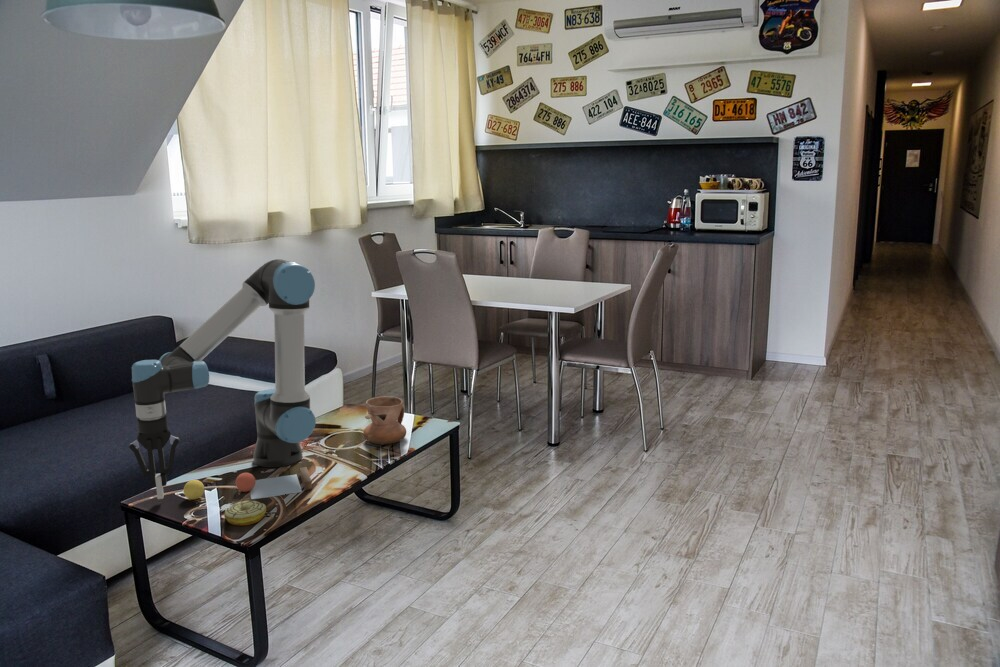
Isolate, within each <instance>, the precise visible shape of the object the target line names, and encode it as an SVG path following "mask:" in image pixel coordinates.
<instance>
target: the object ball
mask: <svg viewBox="0 0 1000 667" xmlns="http://www.w3.org/2000/svg"><path fill="white" fill-rule="evenodd" d="M255 480H256V477H255V476H254V474H252V473H251V472H242V473H240V474H238V475H237V477H236V479H235V486H236V489H237V490H239V492H240V491H241V492H243V493H247V492H250V490H252V489H253V488H254V486H255Z"/></svg>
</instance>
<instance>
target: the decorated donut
mask: <svg viewBox="0 0 1000 667" xmlns="http://www.w3.org/2000/svg"><path fill="white" fill-rule="evenodd" d="M266 512H267V506H266V504H264V503H263V502H261V501H257V500H244V501H243V500H242V501H237V502H235V503H233V504H232V505H231V504H230V506H229V507H227V508H226V509H225V511H224V517H225V519H226V521H227V523H229V524H230V525H233V526H239V527H242V526H243V527H244V526H249V525H252V524H253V525H254V524H256V523H258V522H260V521H261V520H262V519H263V518H264V517H265V515H266Z"/></svg>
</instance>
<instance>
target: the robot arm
mask: <svg viewBox="0 0 1000 667" xmlns="http://www.w3.org/2000/svg"><path fill="white" fill-rule="evenodd" d="M315 288H316V282H315V278H314V276H313V273H312V272H311V271H310V270H309V269H308V268H307V267H305V265H302V264H300V263H298V262H294V261H290V260H284V259H279V258H277V259H273V260H269V261H267V262H265V263H263V264H262V266H261V265H260V267H259V268H258V269H257V270H255V271H254V272H253V273H252V274H251V275H250V276H249V277H247V279H245V281H243V282H242V287H241V289H240V290H238V292H237V293H235V294H234V295H233V296H232V297H231V298H230V299H229V300H227V301H226V302H225V304H223V305H222V306H221V307H220V308H218V309H217V311H216V312H215V313H214V314H212V315H211V316H210V317H209V318H208V319H207V320H206V321H205V322H203V324H201V325H200V326H199V327H198V328H197V329H196V330H194V332H193V333H192V334H190V335H189V336H188V337H187V338H186V339H185V340H184V341H183V342H182V343H181V344H180V345H178V346H176V348H175V349H174V350H172V351H169V352H166V353H164V354H163V355H161V356H160V358H159V359H144V360H139V361H136V362H134V363H133V364H132V365H131V382H132V388H133V389H132V390H133V396H134V405H135V415H136V418H137V420H136V424H137V432H138V433H137V437H136V439H135V440H134V441H131V442H130V443H129V447H128V448H129V449H130V451H132V452H133V453H134V456H135V458H136V461H137V463H138V465H139V469H140V470H141V473H142V476H144V477H146V476H147V477H150V482H151V483H150V484H151V488H156V497H157V500H163V499H164V497H165V496H164V495H165V494H164V487H166V486H167V482H168V481H167V474H169V473H172V472H173V467H174V466H173V465H174V461H175V455H176V449H177V446H178V444H179V442H180V437H179V436H174V435H172V433H171V431H169V425H168V416H167V415H166V414H167V408H166V398H165V395H166V394H168V393H169V394H170V393H175V392H183V391H190V390H198V389H201V388H205V387H207V386H208V385H209V383H210V372H209V368H208V365H207V363H206V362H205V361H204V359H205V358H206V357H207V356H208V355H209V354H210V353H212V352H213V350H214V349H216V348H217V347H218V346H219V345H220V344H221V343H223V341H224V340H226V339H227V338H228V337H229V336H230V335H231V334H232V333H233V332H234V331H235V330H236V329H237V328H238V327H240V325H242V323H244V322H245V321H246V320H247V319H248V318H249V317H250V316H251V315H253V313H255V312H256V311H258V309H259V308H260V307H266V306H267V305H268V309H270V311H272V312H273V314H274V320H273V322H274V371H275V372H274V374H275V375H274V378H275V379H274V381H275V383H274V384H275V388H269V389H268V388H267V389H264V390H260V391H258V392H256V393H255V394H254V397H253V398H254V403H253V404H254V410H255V411H254V412H255V424H256V432H257V434H256V435H257V440H256V443H255V447H254V451H253V454H252V455H253V456H252V457H253V463H254V464H255V465H256V466H258V467H262V468H280V467H281V468H282V467H286V466H290V465H294V464H295V463H297V462H299V461H301V460H302V458H303V449H302V447H301V445H300V443H301V442H303V441H305V440H307V438H309V437H310V436H311V435H312V434H313V432H314V430H315V427H316V416H315V414H314V412H313V411H312V409H311V396H310V394H309V393H308V392H307V391H306V386H305V385H306V381H305V379H306V378H305V374H306V372H305V369H306V368H305V367H306V366H305V365H306V364H305V361H306V360H305V313H306V312H307V311H308V310H309V309H310V299H311V297H312V296H313V294H314V293H315V290H316V289H315ZM168 441H169V444H170V449H169V450H170V451H169V457H168V464H167V466H166V462H165V454H164V448H165V446H166V444H167V443H168ZM140 445H141V446H142V447H143V448H144V449H145V450H146V452H147V457H148V466H147V464H146V461H145V459H144V457H143V454H142V452H141V451H142V450H141V449H140ZM155 450H157V454H158V463H159V464H158V465H159V472H160V473H156V471H157V470H156V464H155V455H154V454H155V453H154V451H155ZM148 467H149V469H148Z"/></svg>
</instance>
